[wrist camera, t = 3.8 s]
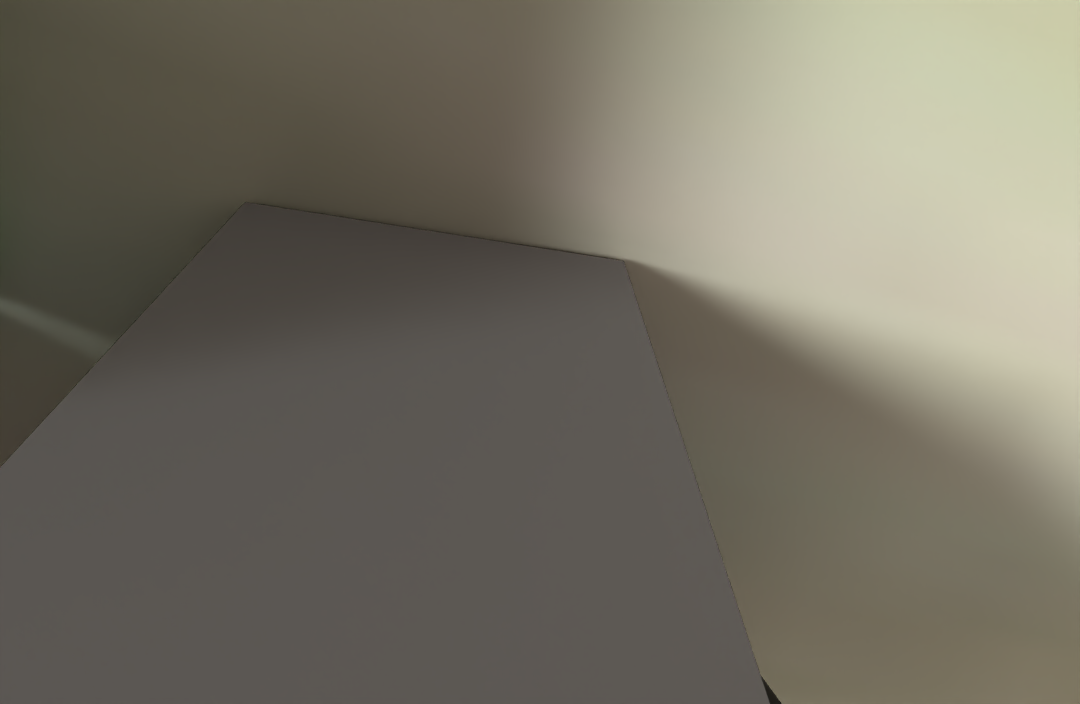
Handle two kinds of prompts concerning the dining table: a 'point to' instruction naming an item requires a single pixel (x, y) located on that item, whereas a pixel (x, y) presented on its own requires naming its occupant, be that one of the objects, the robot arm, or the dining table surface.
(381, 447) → the block
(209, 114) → the dining table surface
